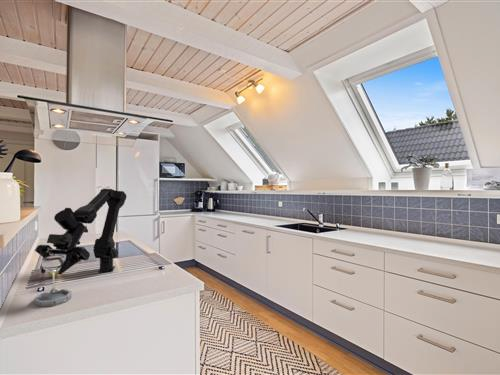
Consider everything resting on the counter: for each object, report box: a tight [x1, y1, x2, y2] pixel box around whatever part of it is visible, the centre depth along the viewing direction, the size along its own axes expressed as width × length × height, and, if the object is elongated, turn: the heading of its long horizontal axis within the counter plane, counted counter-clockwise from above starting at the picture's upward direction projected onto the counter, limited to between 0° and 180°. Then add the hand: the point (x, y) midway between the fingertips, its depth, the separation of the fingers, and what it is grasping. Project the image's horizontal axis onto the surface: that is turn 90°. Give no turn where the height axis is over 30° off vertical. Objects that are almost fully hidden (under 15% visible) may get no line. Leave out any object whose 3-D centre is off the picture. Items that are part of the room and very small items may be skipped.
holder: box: [33, 288, 73, 308], centre depth 104 cm, size 11×11×2 cm
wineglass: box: [41, 254, 65, 293], centre depth 103 cm, size 7×7×12 cm
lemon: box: [46, 270, 59, 277], centre depth 125 cm, size 6×6×8 cm
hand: (50, 273), depth 102 cm, fingers closed on wineglass, 6 cm apart
